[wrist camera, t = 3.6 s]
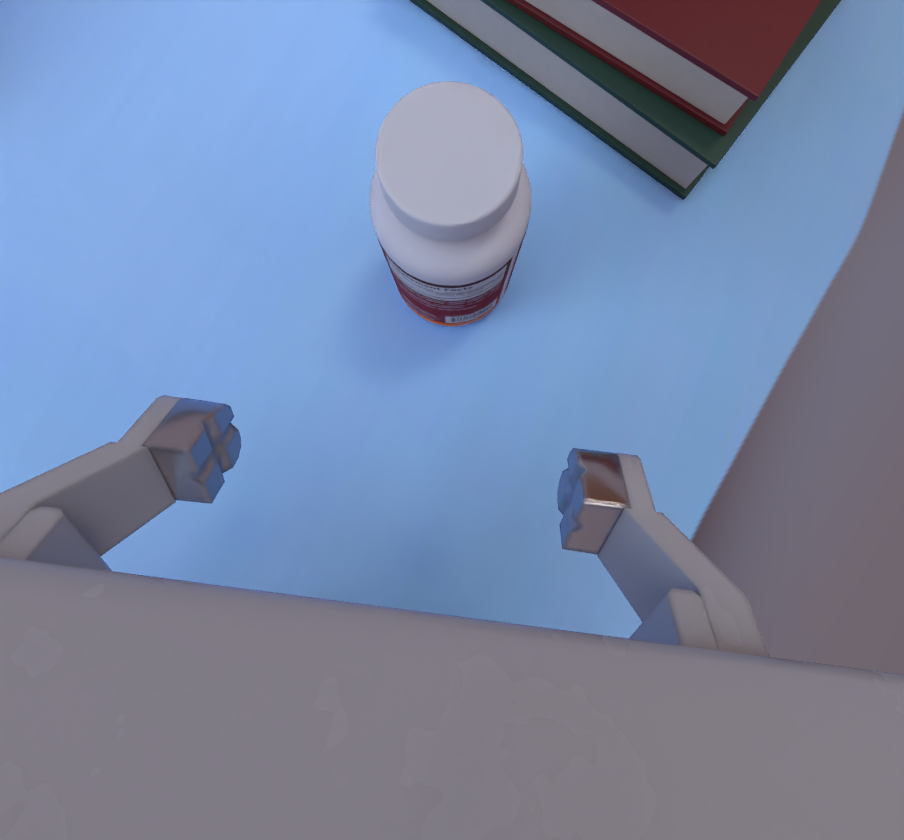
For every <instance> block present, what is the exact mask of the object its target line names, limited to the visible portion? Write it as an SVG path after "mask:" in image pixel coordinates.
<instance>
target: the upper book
mask: <svg viewBox="0 0 904 840" xmlns="http://www.w3.org/2000/svg"><path fill="white" fill-rule="evenodd" d="M506 1H508V2H510V3H511V4H513V5H514V6H516V7H518V8H519V9H521V10H522V11H524V12H526V13H527V14H529V15H530V16H532V17H534V18H535V19H537V20H538V21H540V22H542V23H543V24H545V25H546V26H548V27H550V28H551V29H553V30H554V31H556V32H558V33H559V34H561V35H562V36H564V37H566V38H567V39H569V40H570V41H572V42H574V43H575V44H577V45H578V46H580V47H582V48H583V49H585V50H586V51H588V52H590V53H591V54H593V55H594V56H596V57H598V58H599V59H601V60H602V61H604V62H606V63H607V64H609V65H611V66H612V67H614V68H615V69H617V70H619V71H620V72H622V73H623V74H625V75H627V76H628V77H630V78H631V79H633V80H635V81H636V82H638V83H639V84H641V85H643V86H644V87H646V88H647V89H649V90H651V91H652V92H654V93H655V94H657V95H659V96H660V97H662V98H663V99H665V100H667V101H668V102H670V103H671V104H673V105H675V106H676V107H678V108H679V109H681V110H683V111H684V112H686V113H687V114H689V115H691V116H692V117H694V118H695V119H697V120H699V121H700V122H702V123H703V124H705V125H707V126H708V127H710V128H711V129H713V130H715V131H716V132H718V133H719V134H721V135H723V136H725V134H726V133H727V132H728V131H729V129H730V127H731V126H732V124H733V123H734V121H735V120H736V118H737V117H738V115H739V114H740V112H741V110H742V109H743V107H744V106H745V104H746V103H747V101H748V100H749V99H751V100H753V101H756V100H757V99H758V98H759V96H760V95H761V93H762V92H763V90H764V88H765V87H766V85H767V84H768V82H769V81H770V79H771V78H772V76H773V75H774V73H775V71H776V70H777V68H778V67H779V65H780V64H781V62H782V61H783V59H784V58H785V56H786V54H787V53H788V51H789V50H790V48H791V47H792V45H793V44H794V42H795V40H796V39H797V37H798V36H799V34H800V33H801V31H802V30H803V28H804V27H805V25H806V23H807V22H808V20H809V19H810V17H811V16H812V14H813V13H814V11H815V10H816V8H817V6H818V5H819V3H820V2H821V0H506Z"/></svg>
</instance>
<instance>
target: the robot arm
mask: <svg viewBox="0 0 904 840" xmlns="http://www.w3.org/2000/svg"><path fill="white" fill-rule="evenodd" d="M233 418H234V415H233V412H232V409H231V407H230V406H229V405H226V404H222V403H215V402H208V401H202V400H195V399H189V398H179V397H173V396H166V395H163V396H161V397H158V398H157V399H156V400H155V401H154V402H153V403H152V404H151V405H150V406H149V407H148V409H147V410H146V411H145V412H144V413H143V414H142V415H141V417H140V418H139V419H138V420H137V421H136V422H135V423H134V424H133V426H132V427H131V428H130V429H129V430H128V431H127V432H126V433H125V435H124V436H123V437H122V438H121V439H120V440H119V441H118V443H114V442H110V443H108V444H105V445H103V446H101V447H99V448H97V449H95V450H93V451H90V452H88V453H86V454H84V455H82V456H80V457H77V458H75V459H73V460H71V461H69V462H67V463H65V464H62V465H60V466H58V467H56V468H54V469H52V470H49V471H47V472H45V473H43V474H41V475H39V476H37V477H34V478H32V479H30V480H28V481H26V482H24V483H21V484H19V485H17V486H15V487H13V488H11V489H8V490H6V491H4V492H2V493H0V840H904V675H903V674H896V673H888V672H881V671H873V670H865V669H857V668H850V667H842V666H834V665H827V664H819V663H811V662H803V661H795V660H788V659H780V658H773V657H770V656H769V653H768V651H767V649H766V646H765V643H764V640H763V638H762V635H761V633H760V630H759V628H758V625H757V623H756V620H755V617H754V615H753V612H752V610H751V607H750V605H749V602H748V600H747V597H746V595H744V594H743V592H742V591H740V590H739V589H738V588H737V587H736V586H735V585H734V584H733V583H732V582H731V581H730V580H729V579H728V578H727V577H726V576H725V575H724V574H723V573H722V572H721V571H720V570H719V569H718V568H717V567H716V566H715V565H714V564H713V563H712V562H711V561H710V560H709V559H708V558H707V557H706V556H705V555H704V554H703V553H702V552H701V551H700V550H699V549H698V548H697V547H696V546H695V545H694V544H693V543H692V542H691V541H690V540H689V539H688V538H687V537H686V536H685V535H684V534H683V533H682V532H681V531H680V530H679V529H678V528H677V527H676V526H675V525H674V524H673V523H672V522H671V521H670V520H669V519H668V518H667V517H666V516H665V515H664V514H663V513H660V512H656V511H655V507H654V504H653V501H652V497H651V494H650V490H649V487H648V483H647V480H646V476H645V473H644V470H643V466H642V463H641V459H640V458H639V457H638V456H637V455H629V454H620V453H611V452H603V451H594V450H586V449H577V448H573V449H572V450H571V451H570V454H569V456H568V459H567V460H568V468H567V469H566V470H564V471H563V472H562V475H561V478H560V481H559V486H558V498H557V501H558V509H559V511H560V512H561V513H562V514H563V518H562V520H561V523H560V533H561V543H562V549H566V550H573V551H579V552H586V553H592V554H598V558H599V559H600V561H601V562H602V563H603V565H604V566H605V568H606V569H607V571H608V572H609V574H610V575H611V577H612V578H613V580H614V581H615V583H616V584H617V585H618V587H619V588H620V590H621V591H622V593H623V594H624V596H625V597H626V599H627V600H628V602H629V603H630V605H631V606H632V607H633V609H634V610H635V612H636V613H637V615H638V616H639V618H640V619H641V621H642V622H643V623H642V624H641V625H640V626H639V627H638V629H637V630H636V631H635V632H634V633H633V634H632V636H631V637H630V638H629V639H627V638H620V637H612V636H604V635H597V634H589V633H581V632H574V631H566V630H558V629H551V628H543V627H535V626H528V625H520V624H512V623H505V622H497V621H489V620H482V619H474V618H466V617H459V616H451V615H443V614H436V613H428V612H420V611H413V610H405V609H397V608H390V607H382V606H374V605H367V604H359V603H351V602H343V601H336V600H328V599H320V598H313V597H305V596H297V595H289V594H282V593H274V592H266V591H258V590H251V589H243V588H235V587H228V586H220V585H212V584H205V583H197V582H190V581H182V580H174V579H167V578H159V577H151V576H144V575H136V574H128V573H121V572H113V571H112V570H111V569H110V568H109V567H108V565H107V564H106V563H105V562H104V561H103V559H102V558H101V557H100V556H102V555H103V554H105V553H106V552H107V551H109V550H110V549H111V548H113V547H114V546H116V545H117V544H118V543H120V542H121V541H123V540H124V539H125V538H127V537H128V536H129V535H131V534H132V533H134V532H135V531H136V530H138V529H139V528H140V527H142V526H143V525H145V524H146V523H147V522H149V521H150V520H151V519H153V518H154V517H156V516H157V515H158V514H160V513H161V512H163V511H164V510H165V509H167V508H168V507H169V506H171V505H172V504H174V503H175V502H176V501H175V500H181V501H191V502H201V503H211V504H212V502H213V501H214V499H215V497H216V495H217V494H218V492H219V490H220V489H221V487H222V485H223V484H224V482H225V481H224V477H223V473H224V472H226V471H228V470H229V469H231V468H233V467H234V465H235V463H236V461H237V459H238V457H239V453H240V449H241V437H240V434H239V430H238V429H237V428H236V427H234V426H233V425H232V424H231V423H230V422H231V421H232V419H233Z"/></svg>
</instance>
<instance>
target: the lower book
mask: <svg viewBox="0 0 904 840" xmlns="http://www.w3.org/2000/svg"><path fill="white" fill-rule="evenodd" d="M411 1H412V2H413V3H415V4H416V5H418V6H419V7H420V8H422V9H423V10H424V11H426V12H427V13H429V14H430V15H431V16H433V17H434V18H435V19H437V20H438V21H440V22H441V23H442V24H444V25H445V26H446V27H448V28H449V29H450V30H452V31H453V32H455V33H456V34H457V35H459V36H460V37H461V38H463V39H464V40H466V41H467V42H468V43H470V44H471V45H472V46H474V47H475V48H477V49H478V50H479V51H481V52H482V53H483V54H485V55H486V56H488V57H489V58H490V59H492V60H493V61H494V62H496V63H497V64H498V65H500V66H501V67H503V68H504V69H505V70H507V71H508V72H509V73H511V74H512V75H514V76H515V77H516V78H518V79H519V80H520V81H522V82H523V83H525V84H526V85H527V86H529V87H530V88H531V89H533V90H534V91H536V92H537V93H538V94H540V95H541V96H542V97H544V98H545V99H546V100H548V101H549V102H551V103H552V104H553V105H555V106H556V107H557V108H559V109H560V110H562V111H563V112H564V113H566V114H567V115H568V116H570V117H571V118H573V119H574V120H575V121H577V122H578V123H579V124H581V125H582V126H584V127H585V128H586V129H588V130H589V131H590V132H592V133H593V134H594V135H596V136H597V137H599V138H600V139H601V140H603V141H604V142H605V143H607V144H608V145H610V146H611V147H612V148H614V149H615V150H616V151H618V152H619V153H621V154H622V155H623V156H625V157H626V158H627V159H629V160H630V161H632V162H633V163H634V164H636V165H637V166H638V167H640V168H641V169H642V170H644V171H645V172H647V173H648V174H649V175H651V176H652V177H653V178H655V179H656V180H658V181H659V182H660V183H662V184H663V185H664V186H666V187H667V188H669V189H670V190H671V191H673V192H674V193H675V194H677V195H678V196H680V197H681V198H682V199H685V198H686V197H687V195H688V194H689V193H690V191H691V190H692V189H693V187H694V186H695V185H696V183H697V182H698V181H699V179H700V178H701V177H702V176H703V174H704V173H705V172H706V170H707V169H708V168H709V166H710V167H711V168H712V169H714V168H715V167H716V166H717V164H718V163H719V162H720V160H721V159H722V158H723V156H724V155H725V154H726V152H727V151H728V150H729V148H730V147H731V146H732V144H733V143H734V142H735V140H736V139H737V138H738V136H739V135H740V134H741V133H742V131H743V130H744V129H745V127H746V126H747V125H748V123H749V122H750V121H751V119H752V118H753V117H754V115H755V114H756V113H757V111H758V110H759V109H760V107H761V106H762V105H763V103H764V102H765V101H766V99H767V98H768V97H769V95H770V94H771V93H772V91H773V90H774V89H775V87H776V86H777V85H778V83H779V82H780V81H781V79H782V78H783V77H784V75H785V74H786V73H787V71H788V70H789V69H790V67H791V66H792V65H793V63H794V62H795V61H796V59H797V58H798V57H799V55H800V54H801V53H802V51H803V50H804V49H805V47H806V46H807V45H808V43H809V42H810V41H811V39H812V38H813V37H814V35H815V34H816V33H817V32H818V30H819V29H820V28H821V26H822V25H823V24H824V22H825V21H826V20H827V18H828V17H829V16H830V14H831V13H832V12H833V10H834V9H835V8H836V6H837V5H838V4H839V2H840V1H841V0H821V2H820V3H819V5H818V6H817V8H816V10H815V11H814V13H813V14H812V16H811V17H810V19H809V20H808V22H807V23H806V25H805V27H804V28H803V30H802V31H801V33H800V34H799V36H798V37H797V39H796V40H795V42H794V44H793V45H792V47H791V48H790V50H789V51H788V53H787V54H786V56H785V58H784V59H783V61H782V62H781V64H780V65H779V67H778V68H777V70H776V71H775V73H774V75H773V76H772V78H771V79H770V81H769V82H768V84H767V85H766V87H765V88H764V90H763V92H762V93H761V95H760V96H759V98H758V99H757V100H756V101H753V100H751V99H749V100H748V101H747V103H746V104H745V106H744V107H743V109H742V110H741V112H740V114H739V115H738V117H737V118H736V120H735V121H734V123H733V124H732V126H731V127H730V129H729V131H728V132H727V133H726V134H725V136H723V135H721V134H719V133H718V132H716V131H715V130H713V129H711V128H710V127H708V126H707V125H705V124H703V123H702V122H700V121H699V120H697V119H695V118H694V117H692V116H691V115H689V114H687V113H686V112H684V111H683V110H681V109H679V108H678V107H676V106H675V105H673V104H671V103H670V102H668V101H667V100H665V99H663V98H662V97H660V96H659V95H657V94H655V93H654V92H652V91H651V90H649V89H647V88H646V87H644V86H643V85H641V84H639V83H638V82H636V81H635V80H633V79H631V78H630V77H628V76H627V75H625V74H623V73H622V72H620V71H619V70H617V69H615V68H614V67H612V66H611V65H609V64H607V63H606V62H604V61H602V60H601V59H599V58H598V57H596V56H594V55H593V54H591V53H590V52H588V51H586V50H585V49H583V48H582V47H580V46H578V45H577V44H575V43H574V42H572V41H570V40H569V39H567V38H566V37H564V36H562V35H561V34H559V33H558V32H556V31H554V30H553V29H551V28H550V27H548V26H546V25H545V24H543V23H542V22H540V21H538V20H537V19H535V18H534V17H532V16H530V15H529V14H527V13H526V12H524V11H522V10H521V9H519V8H518V7H516V6H514V5H513V4H511V3H510V2H508V1H506V0H411Z"/></svg>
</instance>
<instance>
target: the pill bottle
mask: <svg viewBox="0 0 904 840" xmlns="http://www.w3.org/2000/svg"><path fill="white" fill-rule="evenodd" d="M530 211H531V189H530V183H529V178H528V175H527V171H526V169H525V167H524V164H523V146H522V140H521V136H520V132H519V129H518V127H517V125H516V122H515V121H514V119H513V117H512V115H511V114H510V112H509V111H508V110H507V108H506V107H505V106H504V105H503V104H502V103H501V102H500V101H499V100H498V99H496V98H495V97H494V96H493V95H491V94H490V93H488V92H486V91H485V90H483V89H481V88H478V87H476V86H473V85H470V84H466V83H461V82H437V83H431V84H428V85H425V86H422V87H420V88H418V89H416V90H414V91H412V92H410V93H409V94H407V95H406V96H404V97H403V98H402V99H400V100H399V101H398V102H397V103H396V104H395V105H394V107H393V108H392V109H391V110H390V112H389V113H388V114H387V116H386V118H385V119H384V121H383V123H382V126H381V128H380V131H379V134H378V138H377V143H376V170H375V172H374V175H373V179H372V184H371V189H370V214H371V219H372V223H373V226H374V229H375V232H376V235H377V238H378V241H379V243H380V245H381V248H382V250H383V253H384V255H385V258H386V260H387V262H388V265H389V268H390V270H391V273H392V275H393V277H394V280H395V282H396V285H397V287H398V290H399V292H400V294H401V296H402V298H403V299H404V301H405V302H406V303H407V305H408V306H409V307H410V308H411V309H412V310H413V311H414V312H415V313H416V314H417V315H419V316H420V317H422V318H423V319H425V320H427V321H429V322H431V323H434V324H437V325H441V326H449V327H456V326H464V325H468V324H471V323H474V322H476V321H478V320H480V319H482V318H484V317H485V316H486V315H488V314H489V313H490V312H491V311H492V310H493V309H494V308H495V307H496V306H497V304H498V303H499V302H500V300H501V299H502V297H503V295H504V293H505V291H506V289H507V287H508V284H509V281H510V278H511V275H512V272H513V269H514V266H515V263H516V260H517V257H518V254H519V251H520V248H521V245H522V242H523V239H524V236H525V233H526V230H527V227H528V222H529V217H530Z"/></svg>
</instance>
